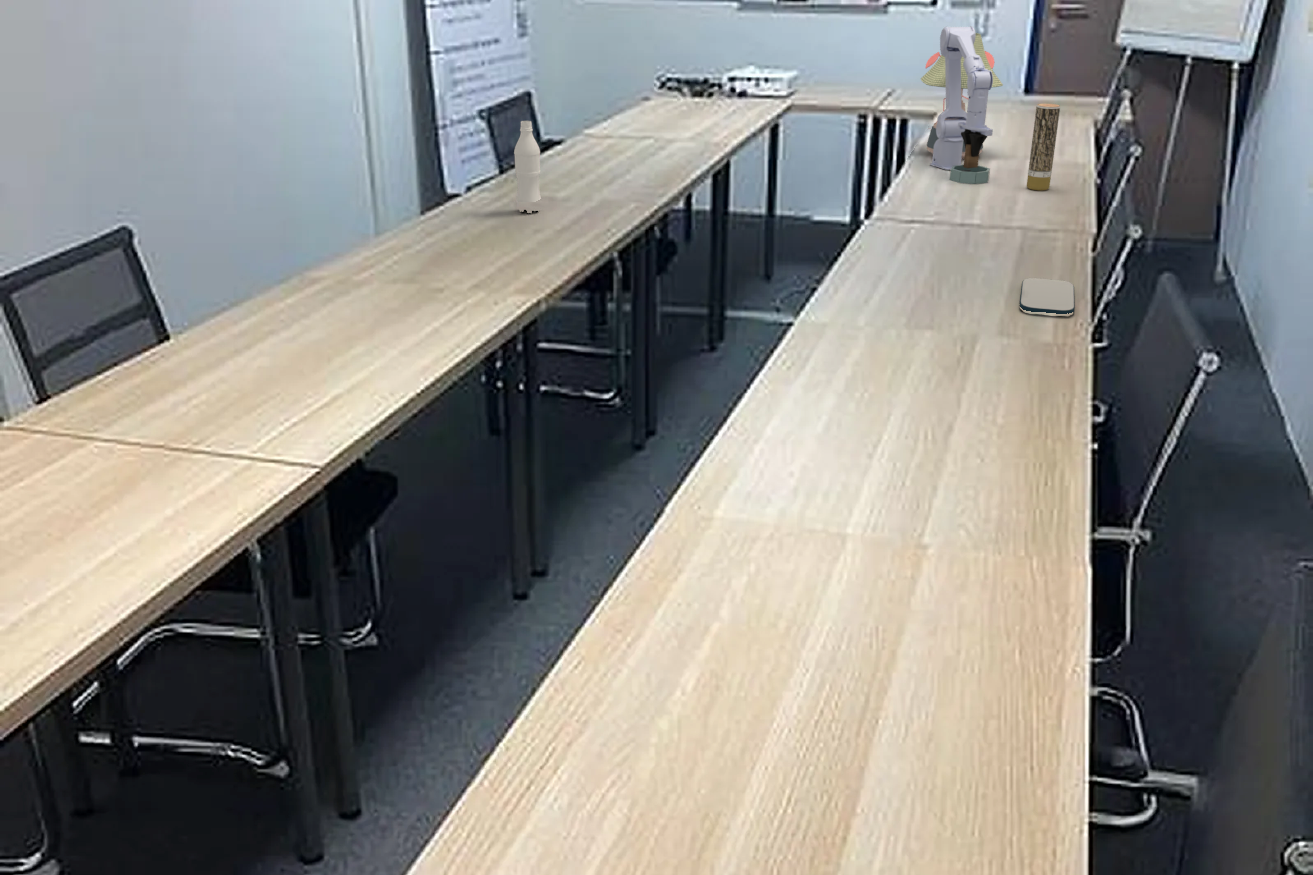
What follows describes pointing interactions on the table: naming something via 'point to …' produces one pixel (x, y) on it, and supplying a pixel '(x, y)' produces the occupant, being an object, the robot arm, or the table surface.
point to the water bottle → (527, 165)
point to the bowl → (970, 174)
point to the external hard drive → (1047, 296)
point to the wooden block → (970, 158)
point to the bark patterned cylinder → (1043, 146)
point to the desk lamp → (938, 79)
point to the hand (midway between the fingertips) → (971, 155)
